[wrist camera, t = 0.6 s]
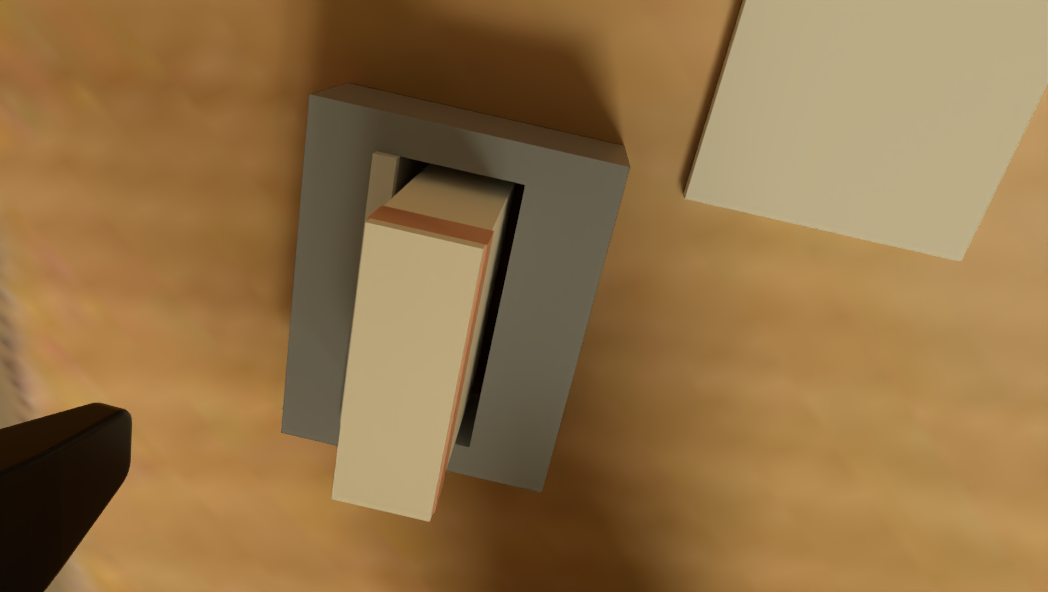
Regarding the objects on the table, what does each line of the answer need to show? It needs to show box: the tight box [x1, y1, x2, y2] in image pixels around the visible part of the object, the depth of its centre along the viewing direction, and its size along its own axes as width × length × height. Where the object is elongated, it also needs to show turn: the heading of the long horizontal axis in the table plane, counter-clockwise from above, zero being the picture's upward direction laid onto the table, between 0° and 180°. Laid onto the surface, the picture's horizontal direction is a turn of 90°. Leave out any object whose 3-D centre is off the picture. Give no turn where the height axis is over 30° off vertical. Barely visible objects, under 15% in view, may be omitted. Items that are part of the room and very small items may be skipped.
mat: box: [683, 0, 1048, 262], centre depth 18 cm, size 8×8×1 cm
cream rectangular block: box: [332, 163, 516, 522], centre depth 18 cm, size 7×2×7 cm, turn 168°
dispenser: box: [281, 83, 630, 493], centre depth 20 cm, size 10×8×3 cm
